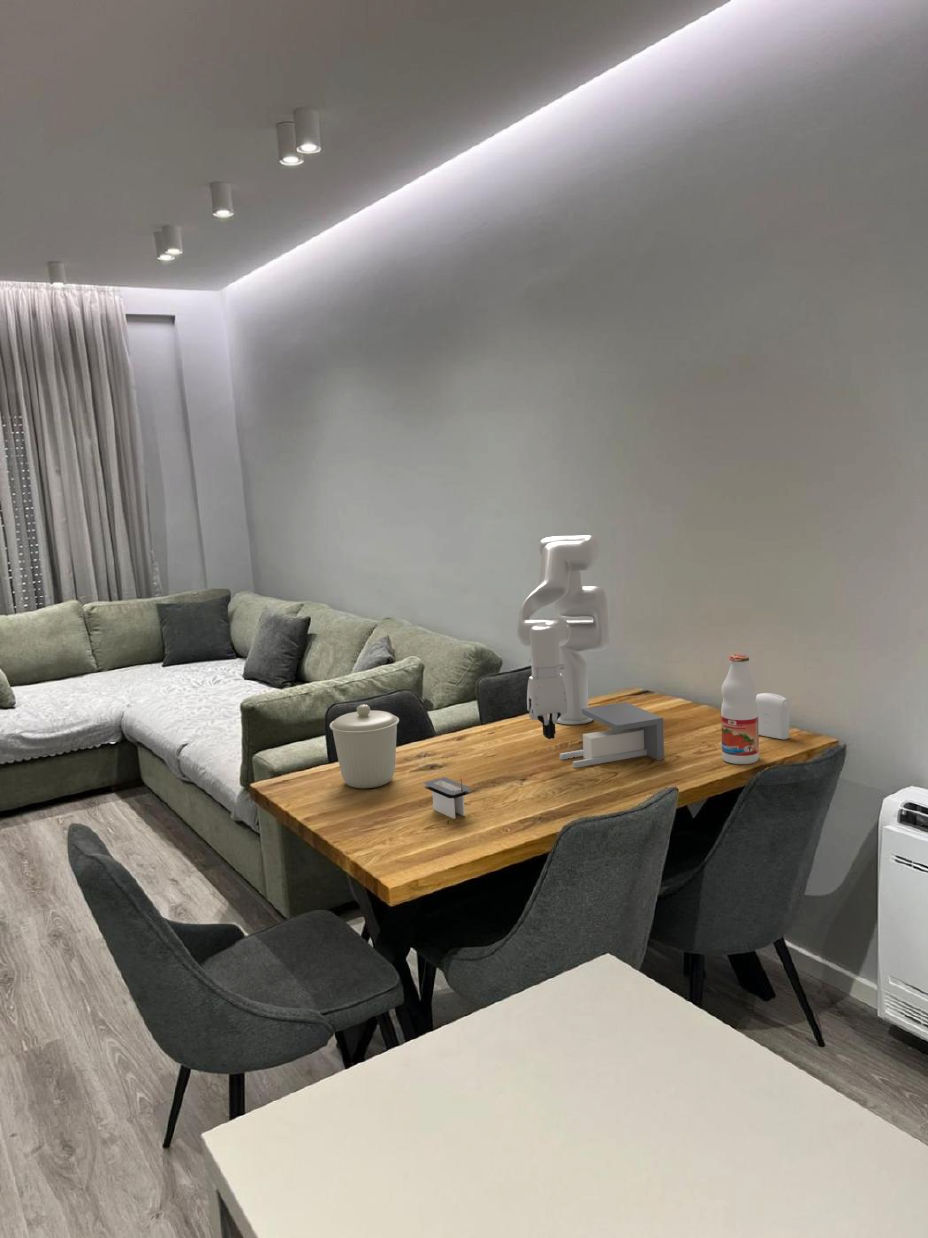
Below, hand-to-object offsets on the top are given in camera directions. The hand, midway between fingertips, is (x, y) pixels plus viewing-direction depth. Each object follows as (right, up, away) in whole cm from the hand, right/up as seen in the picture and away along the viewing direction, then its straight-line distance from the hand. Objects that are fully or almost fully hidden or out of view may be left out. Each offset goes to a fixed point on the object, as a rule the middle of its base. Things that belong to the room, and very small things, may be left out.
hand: (549, 737), depth 253 cm
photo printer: (+65, -2, +16) cm, 67 cm away
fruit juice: (+50, -6, -3) cm, 51 cm away
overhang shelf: (+16, -6, +6) cm, 18 cm away
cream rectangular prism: (+18, -6, +6) cm, 20 cm away
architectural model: (-26, -15, -29) cm, 42 cm away
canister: (-48, -12, -4) cm, 49 cm away
